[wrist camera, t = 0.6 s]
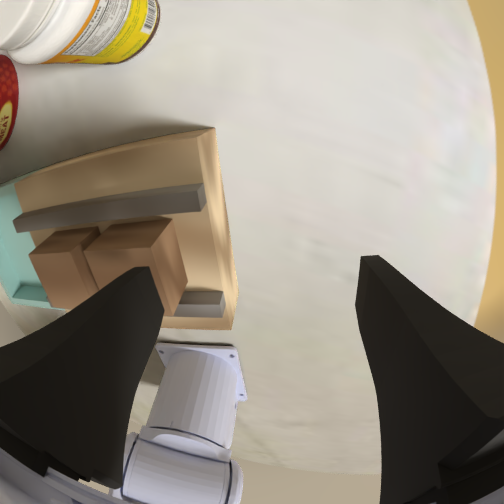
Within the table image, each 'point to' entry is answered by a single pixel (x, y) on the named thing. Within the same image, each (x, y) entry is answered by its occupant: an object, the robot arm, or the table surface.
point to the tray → (17, 253)
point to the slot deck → (147, 211)
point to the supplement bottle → (77, 30)
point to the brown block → (141, 257)
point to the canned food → (7, 99)
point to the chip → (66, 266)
